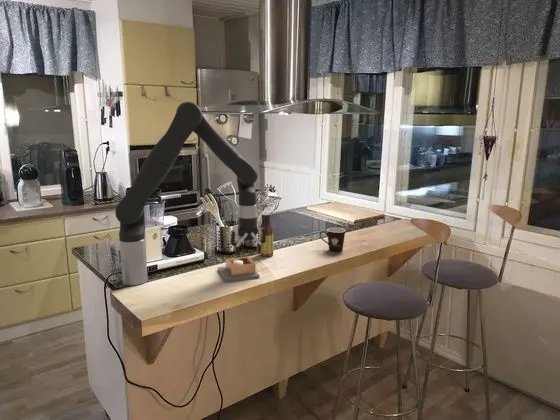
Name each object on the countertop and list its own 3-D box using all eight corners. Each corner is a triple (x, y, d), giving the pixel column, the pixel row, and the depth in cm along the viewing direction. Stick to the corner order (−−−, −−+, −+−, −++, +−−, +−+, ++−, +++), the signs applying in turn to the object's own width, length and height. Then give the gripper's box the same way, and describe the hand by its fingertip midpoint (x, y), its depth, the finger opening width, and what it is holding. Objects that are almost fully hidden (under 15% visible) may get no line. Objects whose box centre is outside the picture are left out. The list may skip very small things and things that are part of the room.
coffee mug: (348, 250, 209) (349, 230, 207) (337, 254, 203) (338, 233, 201) (328, 245, 217) (329, 225, 215) (318, 249, 211) (318, 229, 208)
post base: (224, 282, 169) (224, 269, 168) (218, 270, 182) (217, 258, 181) (259, 277, 174) (259, 265, 173) (250, 266, 187) (250, 254, 186)
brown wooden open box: (231, 276, 172) (231, 267, 171) (226, 268, 181) (225, 259, 180) (255, 273, 175) (255, 264, 174) (249, 265, 184) (248, 256, 183)
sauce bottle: (266, 252, 206) (266, 211, 201) (276, 254, 202) (276, 213, 197) (256, 255, 201) (256, 213, 196) (267, 258, 197) (266, 215, 192)
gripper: (232, 218, 168) (233, 258, 172) (267, 216, 173) (267, 255, 176) (228, 214, 175) (229, 253, 179) (262, 212, 180) (262, 249, 183)
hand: (248, 254), depth 178 cm, fingers open, 8 cm apart
